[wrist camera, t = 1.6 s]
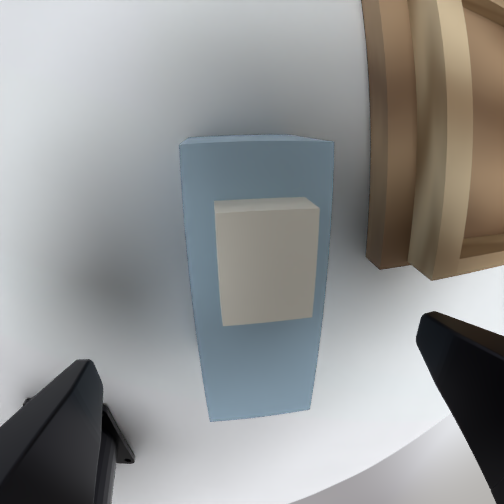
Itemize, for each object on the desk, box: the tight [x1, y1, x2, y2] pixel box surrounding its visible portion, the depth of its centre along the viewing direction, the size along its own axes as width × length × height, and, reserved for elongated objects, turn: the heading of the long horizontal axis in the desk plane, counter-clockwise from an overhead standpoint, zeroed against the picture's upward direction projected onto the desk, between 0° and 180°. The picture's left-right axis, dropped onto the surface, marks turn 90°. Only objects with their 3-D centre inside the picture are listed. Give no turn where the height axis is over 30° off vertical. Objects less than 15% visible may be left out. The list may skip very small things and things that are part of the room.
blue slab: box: [179, 135, 334, 422], centre depth 11 cm, size 10×4×6 cm, turn 1°
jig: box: [361, 0, 504, 281], centre depth 12 cm, size 14×12×4 cm
